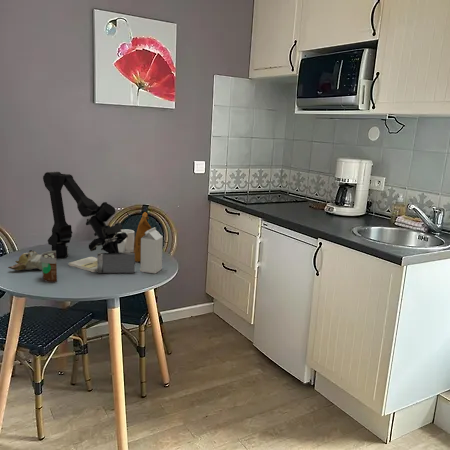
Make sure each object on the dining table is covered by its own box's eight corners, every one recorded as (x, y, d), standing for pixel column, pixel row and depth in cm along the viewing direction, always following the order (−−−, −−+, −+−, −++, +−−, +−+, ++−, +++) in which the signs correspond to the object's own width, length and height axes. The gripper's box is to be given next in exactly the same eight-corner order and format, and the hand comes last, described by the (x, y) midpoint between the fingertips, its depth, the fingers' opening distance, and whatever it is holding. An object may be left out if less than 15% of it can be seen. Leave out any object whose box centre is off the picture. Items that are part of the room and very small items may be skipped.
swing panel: (97, 273, 192) (97, 254, 190) (97, 270, 195) (97, 252, 193) (134, 272, 195) (134, 254, 193) (134, 270, 198) (134, 252, 196)
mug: (133, 255, 222) (133, 235, 220) (115, 255, 221) (115, 234, 219) (134, 249, 234) (134, 229, 232) (118, 248, 233) (118, 229, 230)
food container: (40, 274, 188) (39, 250, 186) (56, 273, 190) (55, 250, 188) (40, 284, 177) (39, 259, 175) (56, 283, 179) (56, 258, 177)
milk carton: (161, 269, 203) (163, 227, 199) (155, 274, 196) (156, 231, 193) (147, 267, 205) (148, 226, 201) (140, 271, 198) (140, 229, 194)
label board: (68, 265, 201) (68, 261, 201) (90, 259, 213) (90, 255, 212) (93, 272, 194) (93, 268, 194) (114, 265, 205) (115, 261, 205)
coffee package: (154, 255, 224) (155, 211, 220) (154, 262, 212) (155, 216, 208) (133, 255, 223) (134, 211, 218) (132, 262, 211) (133, 216, 206)
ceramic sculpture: (44, 252, 188) (6, 254, 186) (46, 272, 190) (8, 274, 188) (50, 246, 198) (14, 247, 196) (52, 265, 200) (16, 267, 198)
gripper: (94, 220, 186) (113, 252, 184) (125, 214, 202) (143, 243, 200) (80, 235, 192) (98, 266, 189) (111, 228, 208) (129, 256, 205)
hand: (118, 257), depth 195 cm, fingers closed
